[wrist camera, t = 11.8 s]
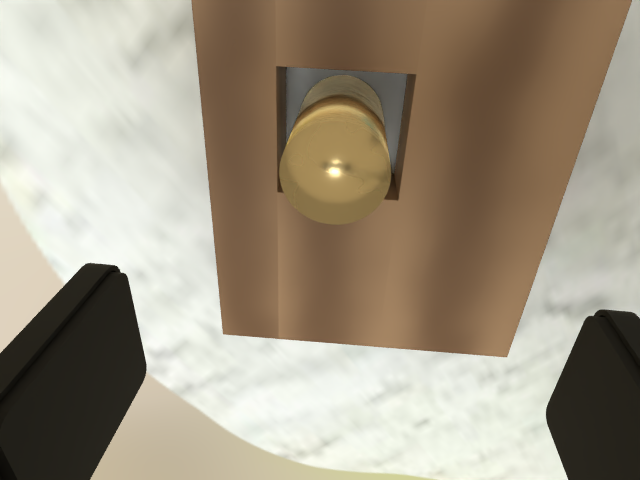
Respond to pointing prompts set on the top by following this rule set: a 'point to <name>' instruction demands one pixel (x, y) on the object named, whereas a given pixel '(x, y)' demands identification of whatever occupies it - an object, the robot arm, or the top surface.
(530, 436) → the top surface
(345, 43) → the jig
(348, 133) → the brass cylinder
